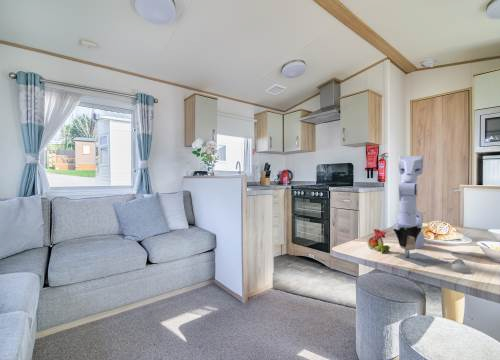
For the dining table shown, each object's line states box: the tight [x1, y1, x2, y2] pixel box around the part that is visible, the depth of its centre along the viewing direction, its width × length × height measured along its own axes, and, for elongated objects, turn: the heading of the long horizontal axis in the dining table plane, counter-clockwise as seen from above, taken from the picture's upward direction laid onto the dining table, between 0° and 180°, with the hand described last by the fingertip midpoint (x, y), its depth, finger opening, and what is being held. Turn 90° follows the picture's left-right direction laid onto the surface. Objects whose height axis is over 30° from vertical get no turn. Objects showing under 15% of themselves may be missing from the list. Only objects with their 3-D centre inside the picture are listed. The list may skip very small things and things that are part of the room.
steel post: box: [404, 249, 410, 258], centre depth 98 cm, size 2×2×6 cm
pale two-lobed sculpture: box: [450, 258, 471, 274], centre depth 86 cm, size 4×8×5 cm
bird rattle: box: [367, 228, 391, 254], centre depth 109 cm, size 6×11×9 cm
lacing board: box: [393, 252, 450, 268], centre depth 97 cm, size 14×13×1 cm
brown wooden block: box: [399, 236, 416, 251], centre depth 98 cm, size 5×5×4 cm
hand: (407, 245), depth 98 cm, fingers closed on brown wooden block, 5 cm apart
